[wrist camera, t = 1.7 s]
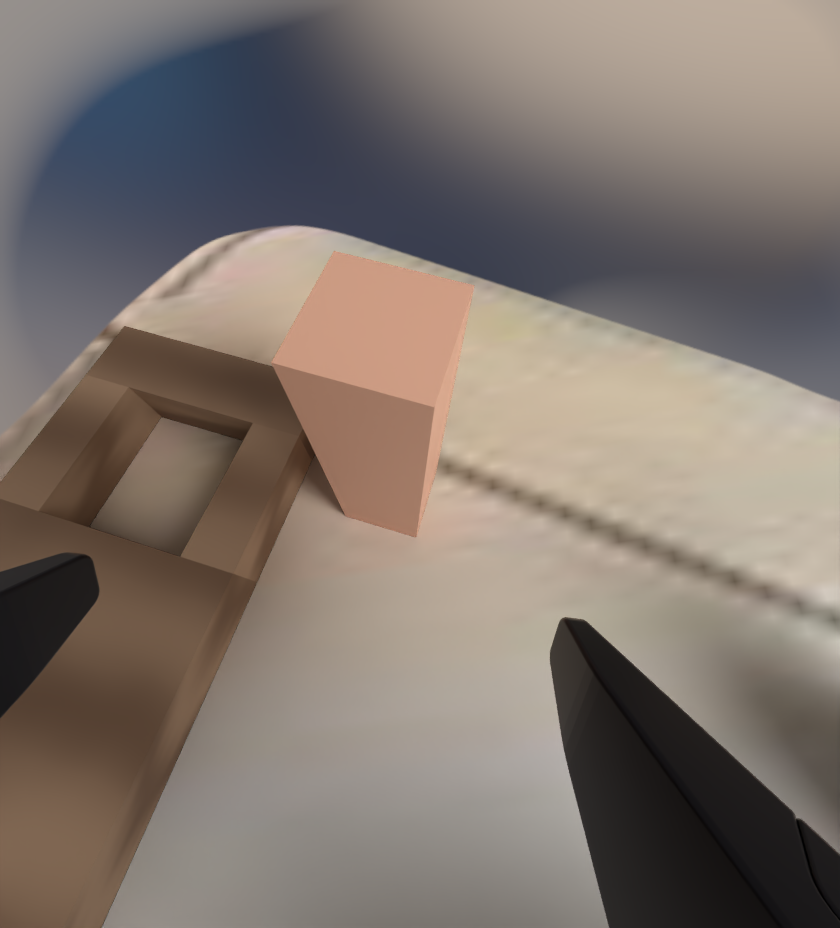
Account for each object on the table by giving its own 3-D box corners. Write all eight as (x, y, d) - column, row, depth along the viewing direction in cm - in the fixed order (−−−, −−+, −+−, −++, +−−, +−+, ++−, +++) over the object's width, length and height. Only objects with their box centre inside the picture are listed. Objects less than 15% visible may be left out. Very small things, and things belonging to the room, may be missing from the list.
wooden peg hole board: (90, 950, 14) (15, 1027, 11) (-186, 835, 15) (-316, 880, 12) (334, 410, 24) (325, 381, 21) (155, 360, 25) (124, 326, 22)
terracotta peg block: (416, 537, 21) (434, 407, 9) (345, 516, 21) (271, 362, 9) (436, 471, 22) (474, 285, 10) (370, 452, 23) (334, 251, 11)
